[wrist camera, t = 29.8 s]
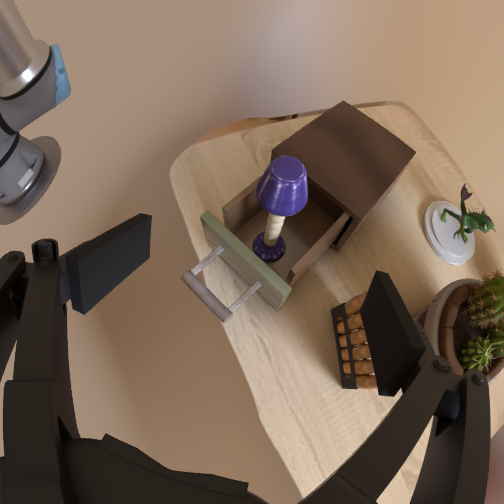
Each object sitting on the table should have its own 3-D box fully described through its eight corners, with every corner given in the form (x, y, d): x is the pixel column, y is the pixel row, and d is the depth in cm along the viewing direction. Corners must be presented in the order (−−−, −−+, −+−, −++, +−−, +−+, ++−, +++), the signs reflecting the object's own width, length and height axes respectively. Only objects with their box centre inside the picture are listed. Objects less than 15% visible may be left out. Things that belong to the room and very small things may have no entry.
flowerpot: (471, 374, 32) (567, 358, 13) (395, 409, 31) (500, 424, 12) (454, 289, 37) (542, 237, 19) (378, 310, 36) (472, 257, 18)
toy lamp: (292, 238, 38) (319, 153, 22) (284, 270, 36) (310, 197, 21) (257, 228, 38) (263, 140, 23) (247, 260, 37) (247, 181, 21)
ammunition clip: (355, 385, 32) (399, 390, 21) (342, 388, 32) (382, 395, 21) (343, 307, 37) (381, 281, 25) (330, 309, 36) (364, 283, 25)
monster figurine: (441, 273, 38) (480, 248, 29) (412, 208, 43) (442, 173, 33) (480, 255, 40) (516, 231, 30) (454, 198, 44) (483, 168, 35)
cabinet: (338, 252, 39) (361, 219, 30) (267, 193, 43) (271, 149, 34) (392, 188, 44) (416, 152, 35) (330, 141, 48) (343, 100, 39)
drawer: (243, 344, 34) (241, 339, 26) (175, 274, 37) (158, 252, 30) (350, 232, 40) (369, 203, 32) (285, 179, 43) (291, 144, 36)
